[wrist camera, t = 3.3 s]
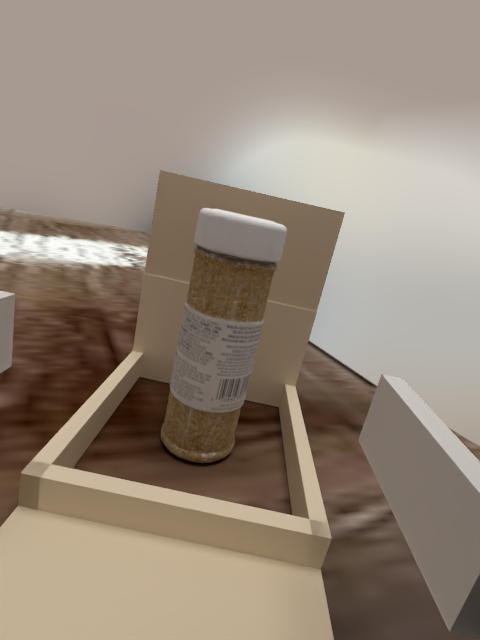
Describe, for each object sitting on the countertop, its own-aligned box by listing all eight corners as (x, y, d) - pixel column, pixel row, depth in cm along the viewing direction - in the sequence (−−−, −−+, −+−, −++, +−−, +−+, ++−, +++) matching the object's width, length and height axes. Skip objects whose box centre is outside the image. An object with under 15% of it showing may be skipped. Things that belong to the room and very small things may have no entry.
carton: (356, 795, 9) (660, 194, 5) (-132, 699, 9) (-192, -6, 5) (287, 404, 29) (342, 213, 25) (132, 370, 29) (162, 171, 25)
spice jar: (215, 417, 25) (260, 218, 22) (246, 461, 21) (307, 229, 18) (149, 423, 23) (187, 201, 19) (171, 473, 19) (224, 209, 16)
